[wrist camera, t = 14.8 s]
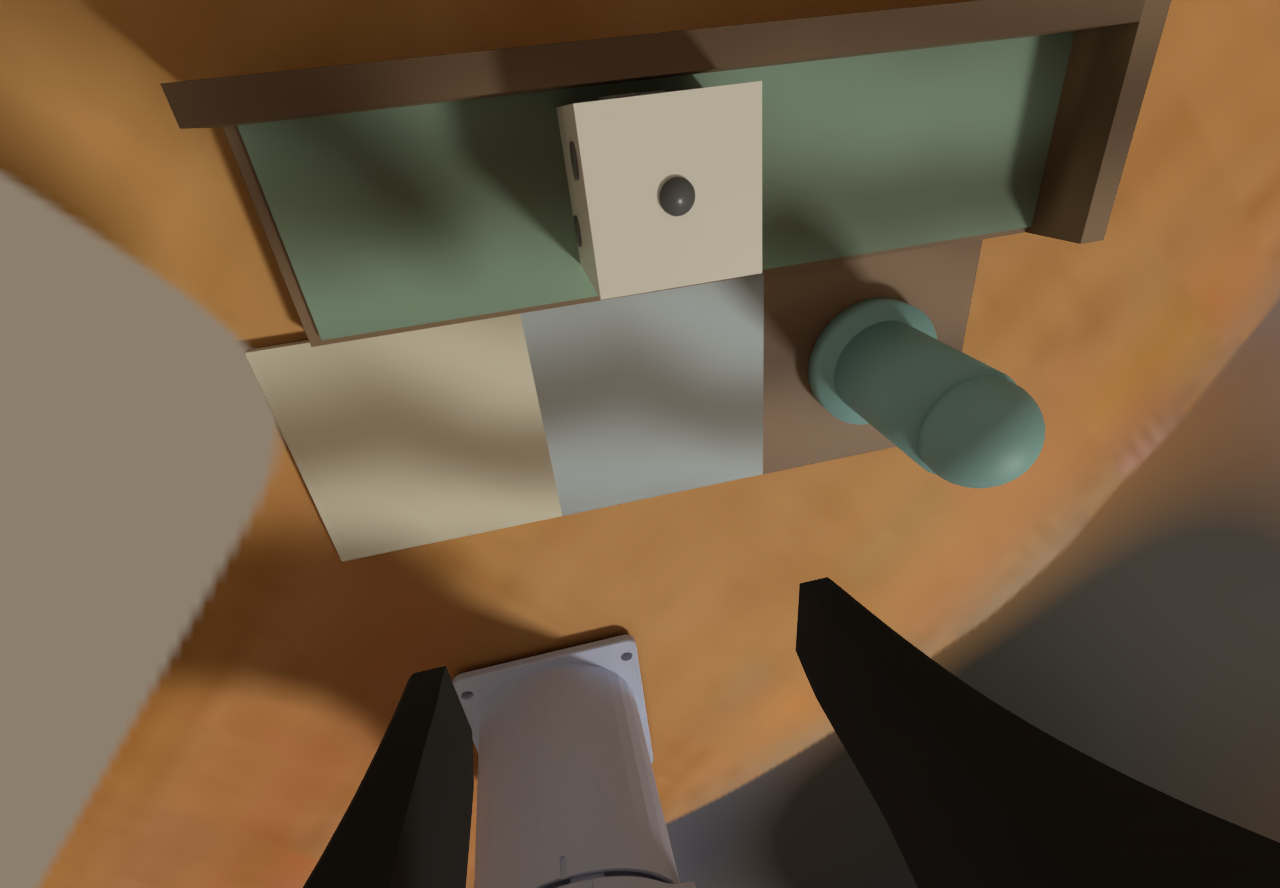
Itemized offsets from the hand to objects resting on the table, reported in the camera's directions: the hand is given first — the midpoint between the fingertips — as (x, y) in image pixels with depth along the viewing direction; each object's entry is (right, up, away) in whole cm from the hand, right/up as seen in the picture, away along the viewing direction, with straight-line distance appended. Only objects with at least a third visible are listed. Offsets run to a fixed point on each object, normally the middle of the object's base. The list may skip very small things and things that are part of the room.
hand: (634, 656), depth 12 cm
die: (0, +12, +5) cm, 13 cm away
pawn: (+8, +7, +10) cm, 15 cm away
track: (+1, +6, +9) cm, 11 cm away
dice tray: (+2, +13, +6) cm, 14 cm away
